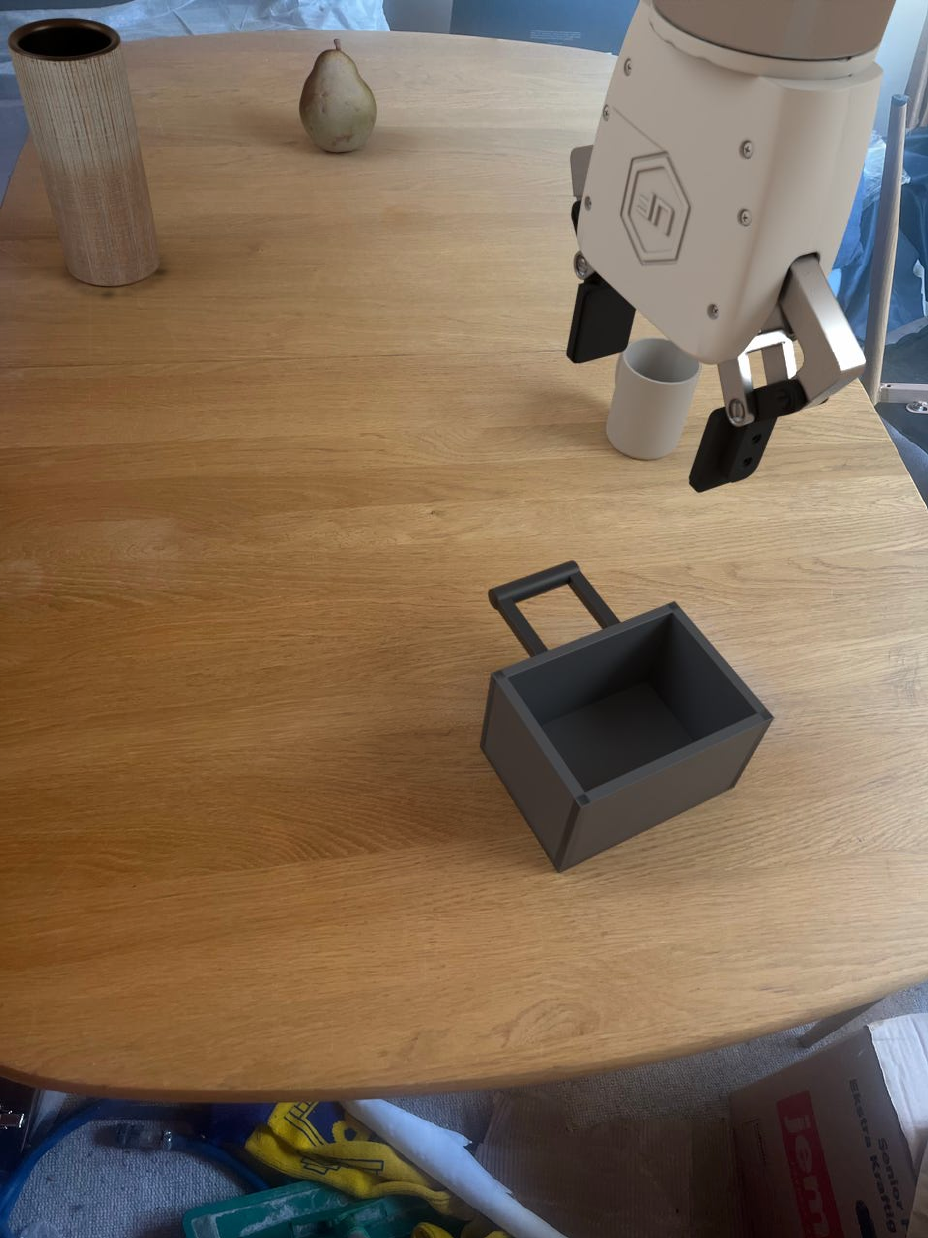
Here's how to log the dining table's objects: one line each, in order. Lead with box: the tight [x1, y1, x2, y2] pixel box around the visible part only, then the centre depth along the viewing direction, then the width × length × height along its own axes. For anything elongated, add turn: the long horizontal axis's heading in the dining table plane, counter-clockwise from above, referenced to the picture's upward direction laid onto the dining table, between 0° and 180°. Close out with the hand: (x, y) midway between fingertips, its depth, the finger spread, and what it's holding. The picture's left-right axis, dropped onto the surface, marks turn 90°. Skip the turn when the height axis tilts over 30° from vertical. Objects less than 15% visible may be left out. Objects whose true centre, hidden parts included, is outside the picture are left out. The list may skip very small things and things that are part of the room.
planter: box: [7, 17, 161, 287], centre depth 98 cm, size 10×10×23 cm
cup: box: [605, 336, 703, 461], centre depth 91 cm, size 7×10×9 cm
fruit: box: [298, 38, 378, 153], centre depth 124 cm, size 10×9×12 cm
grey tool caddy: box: [479, 559, 775, 874], centre depth 68 cm, size 18×15×9 cm
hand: (654, 413), depth 44 cm, fingers open, 9 cm apart
